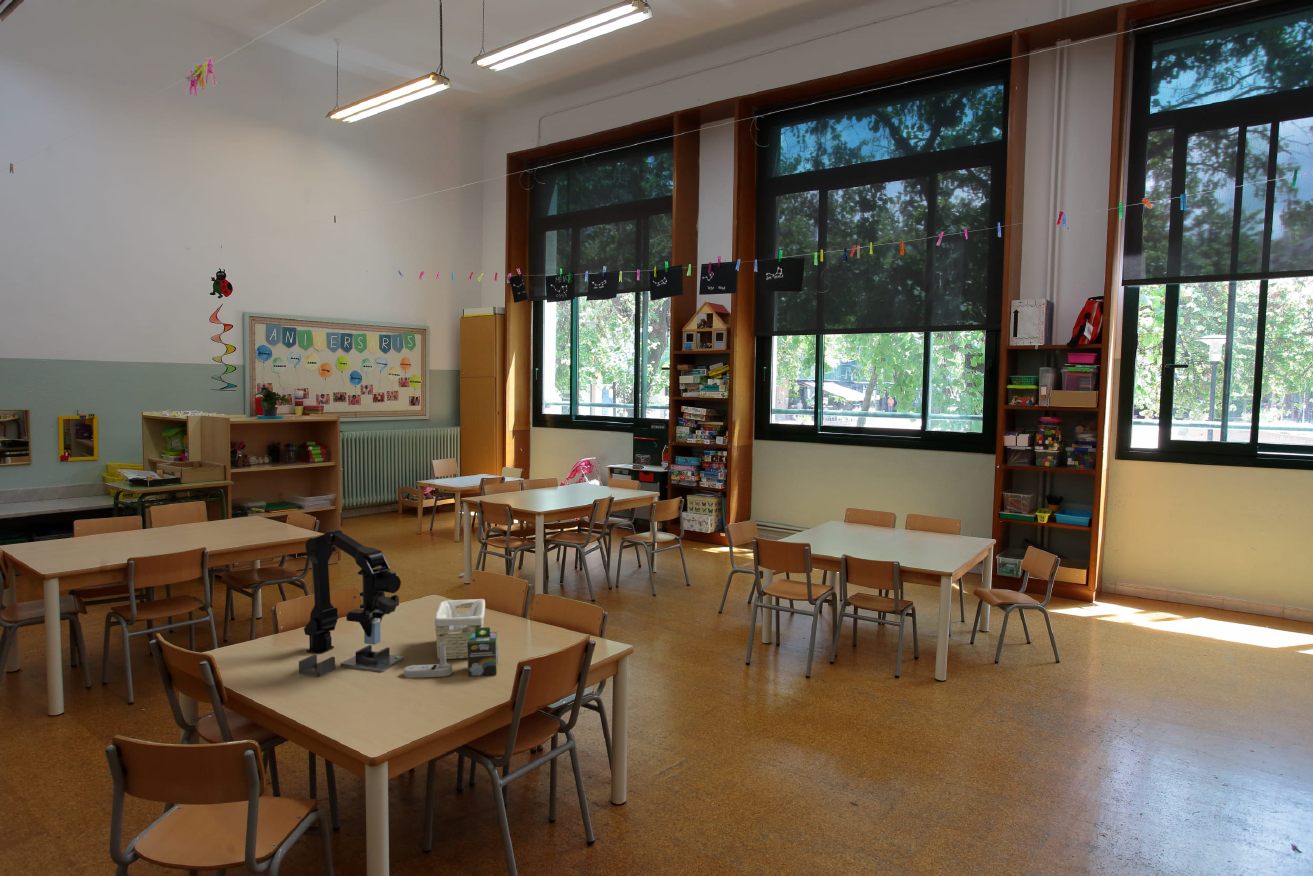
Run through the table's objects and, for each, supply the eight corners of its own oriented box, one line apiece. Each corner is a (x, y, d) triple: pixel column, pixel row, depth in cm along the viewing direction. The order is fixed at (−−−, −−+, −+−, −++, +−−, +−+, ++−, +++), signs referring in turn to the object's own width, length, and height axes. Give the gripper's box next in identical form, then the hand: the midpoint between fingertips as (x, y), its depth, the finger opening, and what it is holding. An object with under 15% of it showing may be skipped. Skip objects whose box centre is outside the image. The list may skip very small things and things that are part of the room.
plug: (364, 643, 255) (364, 619, 255) (370, 640, 258) (369, 617, 257) (374, 644, 254) (374, 620, 254) (380, 641, 257) (380, 618, 256)
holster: (298, 673, 246) (298, 661, 246) (314, 666, 253) (314, 654, 253) (320, 676, 244) (319, 664, 244) (335, 669, 251) (334, 657, 250)
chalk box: (498, 665, 256) (498, 621, 255) (496, 675, 247) (496, 630, 246) (469, 666, 254) (469, 622, 253) (467, 677, 245) (467, 631, 244)
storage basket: (440, 639, 282) (440, 599, 281) (486, 637, 285) (486, 597, 284) (433, 662, 258) (433, 618, 257) (483, 659, 261) (483, 616, 260)
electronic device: (405, 643, 249) (452, 642, 249) (407, 673, 249) (453, 671, 250) (400, 649, 243) (449, 647, 244) (402, 679, 244) (450, 677, 245)
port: (340, 666, 253) (340, 653, 253) (363, 654, 264) (363, 641, 264) (382, 672, 248) (382, 658, 248) (404, 659, 260) (404, 646, 260)
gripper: (374, 598, 244) (375, 647, 245) (409, 584, 262) (409, 629, 263) (345, 595, 247) (345, 643, 248) (381, 581, 265) (381, 626, 266)
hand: (372, 635), depth 256 cm, fingers closed on plug, 3 cm apart
